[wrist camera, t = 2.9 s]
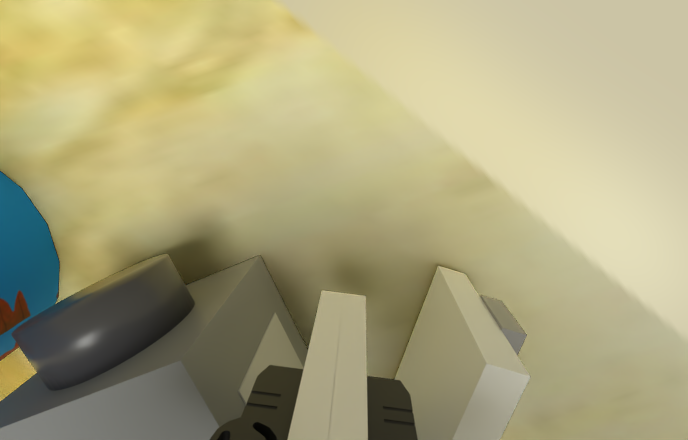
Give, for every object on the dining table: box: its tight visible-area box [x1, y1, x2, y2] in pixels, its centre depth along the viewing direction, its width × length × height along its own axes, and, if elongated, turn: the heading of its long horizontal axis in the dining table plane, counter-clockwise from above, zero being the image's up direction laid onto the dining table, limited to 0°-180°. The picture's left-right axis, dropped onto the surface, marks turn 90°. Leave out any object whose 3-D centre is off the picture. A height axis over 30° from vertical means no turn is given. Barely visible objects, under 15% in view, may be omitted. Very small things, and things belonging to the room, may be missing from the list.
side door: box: [394, 266, 531, 440], centre depth 15 cm, size 11×2×8 cm, turn 163°
